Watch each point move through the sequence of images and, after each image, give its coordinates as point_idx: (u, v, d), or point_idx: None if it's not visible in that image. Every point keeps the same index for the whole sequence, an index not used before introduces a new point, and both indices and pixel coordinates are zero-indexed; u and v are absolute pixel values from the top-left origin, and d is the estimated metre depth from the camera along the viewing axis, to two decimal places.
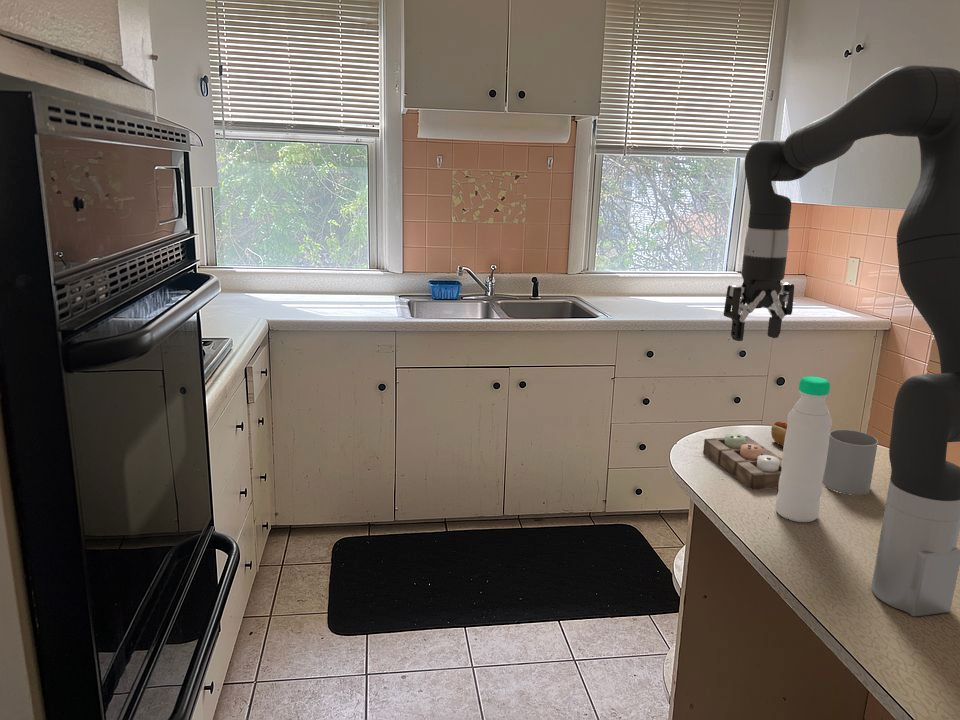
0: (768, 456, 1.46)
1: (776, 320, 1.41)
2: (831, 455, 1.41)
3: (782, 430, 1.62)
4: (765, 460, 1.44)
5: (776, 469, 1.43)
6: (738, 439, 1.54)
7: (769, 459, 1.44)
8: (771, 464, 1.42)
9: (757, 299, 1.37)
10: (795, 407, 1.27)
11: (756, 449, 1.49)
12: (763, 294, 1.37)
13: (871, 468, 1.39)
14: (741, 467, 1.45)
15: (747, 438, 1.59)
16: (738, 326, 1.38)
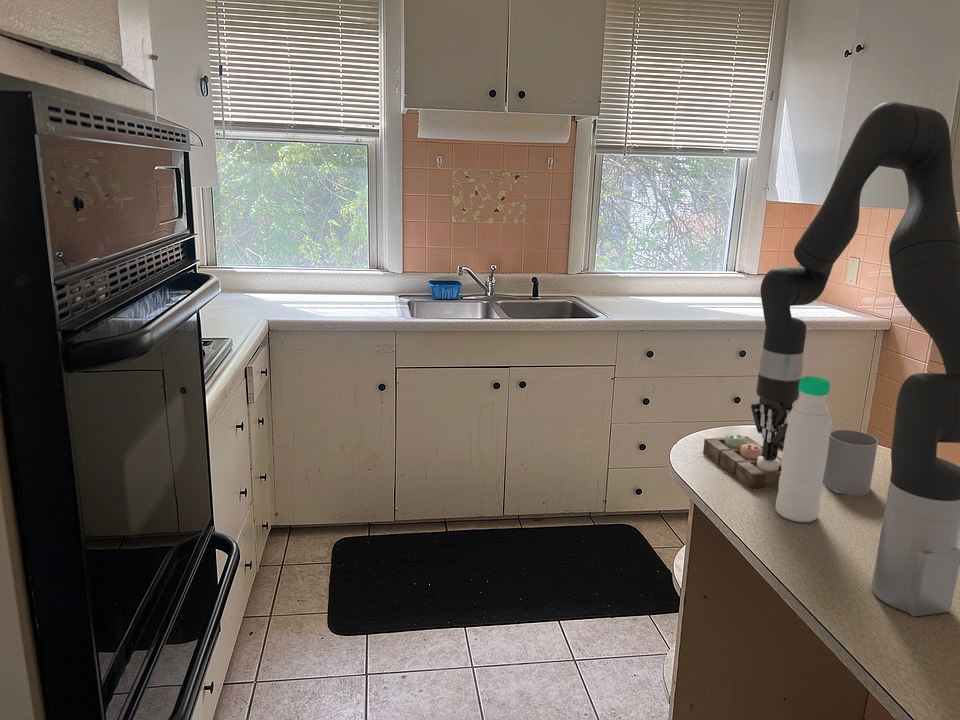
0: None
1: None
2: (831, 454, 1.41)
3: None
4: (765, 461, 1.44)
5: (776, 470, 1.43)
6: (738, 439, 1.54)
7: (769, 460, 1.44)
8: (771, 465, 1.42)
9: None
10: (795, 407, 1.27)
11: (756, 449, 1.49)
12: None
13: (871, 468, 1.39)
14: (741, 467, 1.45)
15: (747, 438, 1.59)
16: None
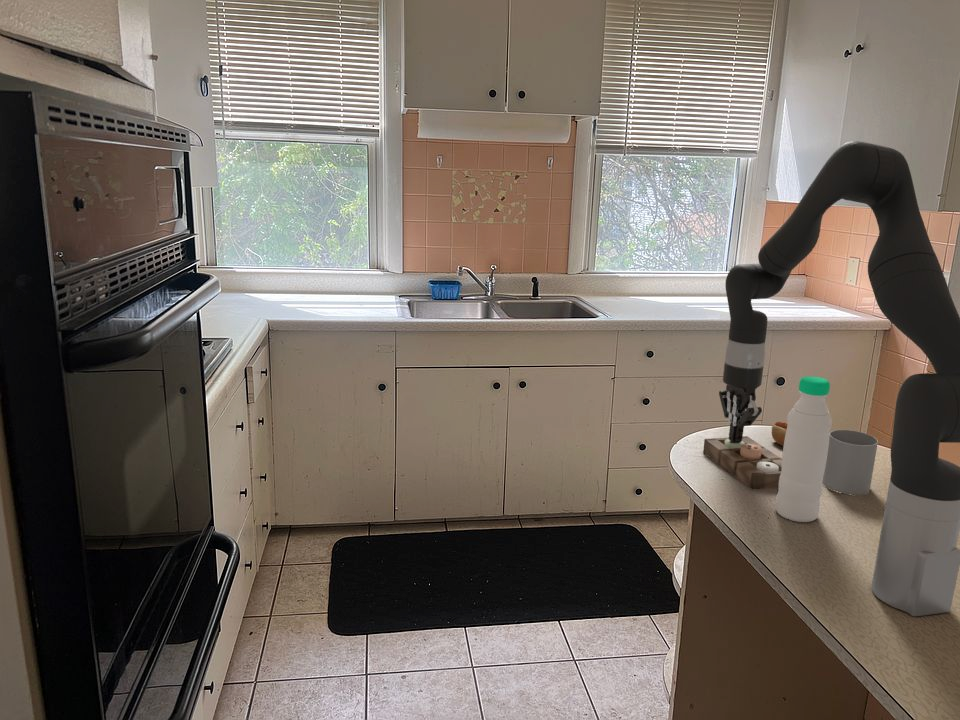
0: (767, 463, 1.46)
1: None
2: (831, 454, 1.41)
3: (782, 430, 1.62)
4: (765, 467, 1.44)
5: None
6: (737, 444, 1.55)
7: (768, 466, 1.44)
8: (770, 471, 1.43)
9: None
10: (795, 407, 1.27)
11: (756, 449, 1.49)
12: None
13: (871, 468, 1.39)
14: (741, 467, 1.45)
15: (747, 438, 1.59)
16: None
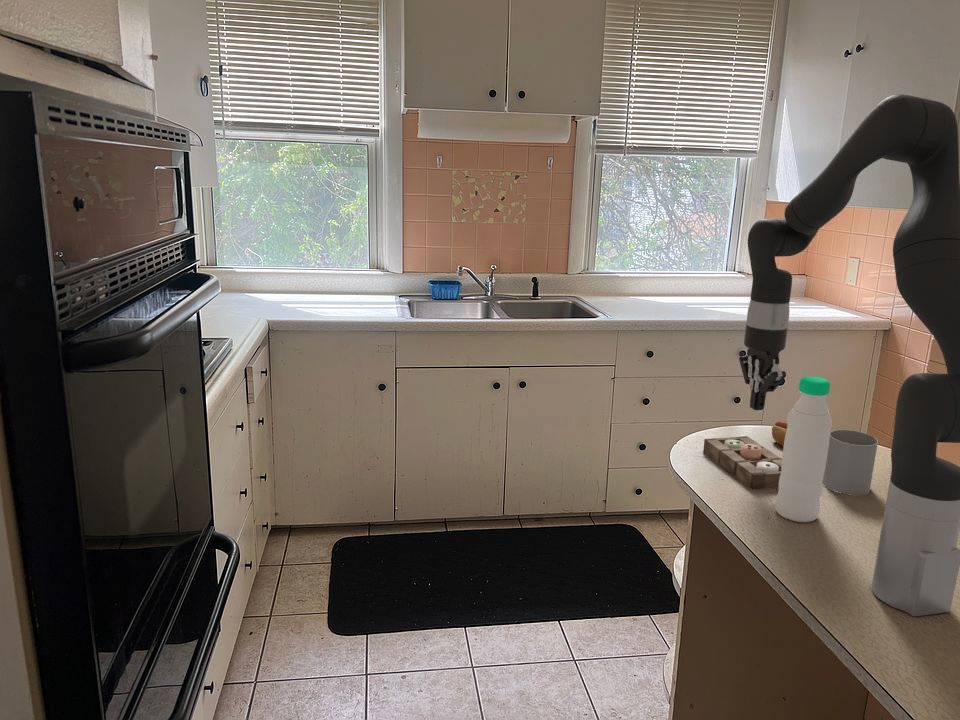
0: (767, 463, 1.46)
1: None
2: (831, 454, 1.41)
3: (783, 430, 1.62)
4: (765, 467, 1.44)
5: None
6: (737, 445, 1.55)
7: (768, 466, 1.44)
8: (770, 471, 1.43)
9: None
10: (795, 407, 1.27)
11: (756, 449, 1.49)
12: None
13: (871, 468, 1.39)
14: (741, 467, 1.45)
15: (747, 438, 1.59)
16: None
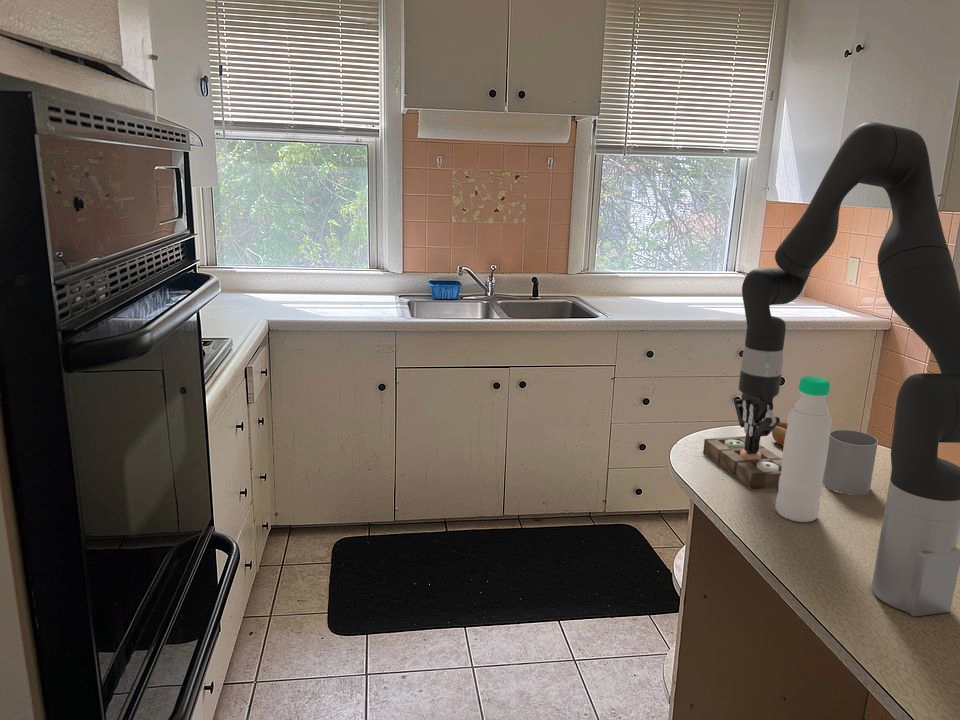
0: (767, 463, 1.46)
1: None
2: (831, 454, 1.41)
3: (783, 430, 1.62)
4: (765, 467, 1.44)
5: None
6: (737, 445, 1.55)
7: (768, 466, 1.44)
8: (770, 471, 1.43)
9: None
10: (795, 407, 1.27)
11: (755, 454, 1.49)
12: None
13: (871, 468, 1.39)
14: (741, 467, 1.45)
15: None
16: None
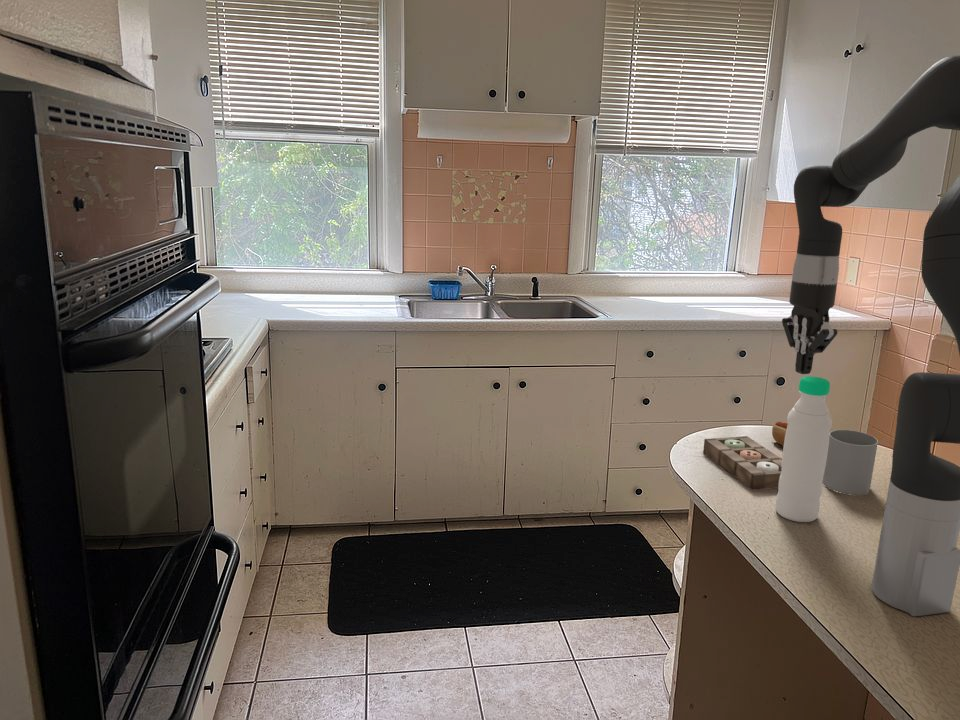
0: (767, 463, 1.46)
1: None
2: (831, 454, 1.41)
3: (783, 430, 1.62)
4: (765, 467, 1.44)
5: None
6: (737, 445, 1.55)
7: (768, 466, 1.44)
8: (770, 471, 1.43)
9: None
10: (795, 407, 1.27)
11: (755, 455, 1.49)
12: None
13: (871, 468, 1.39)
14: (741, 467, 1.45)
15: (747, 438, 1.59)
16: None
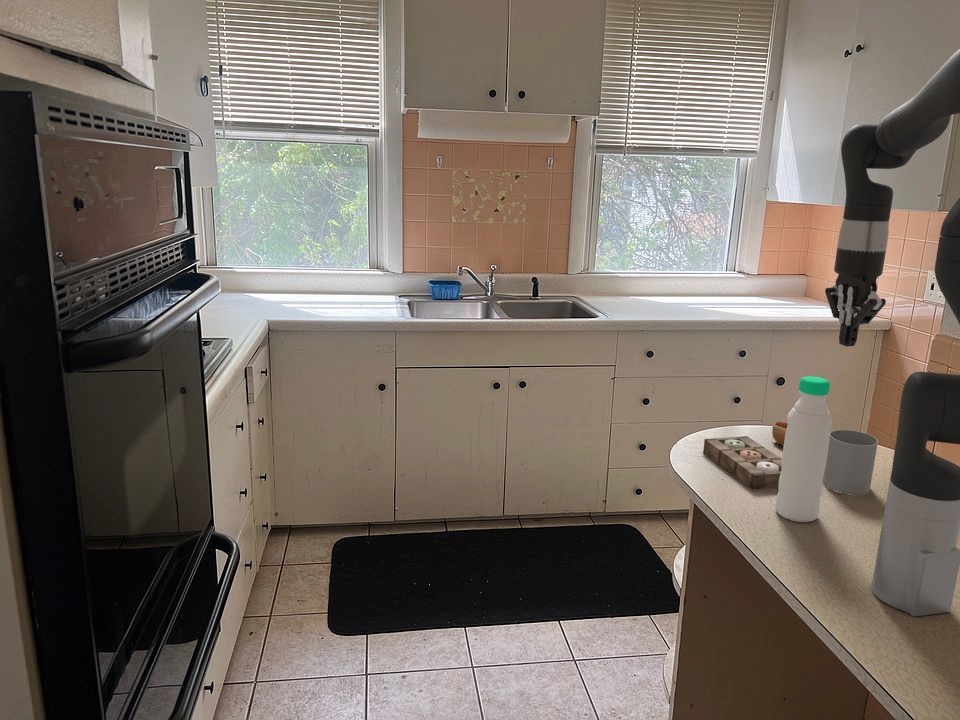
0: (767, 463, 1.46)
1: None
2: (831, 454, 1.41)
3: (783, 430, 1.62)
4: (765, 467, 1.44)
5: None
6: (737, 445, 1.55)
7: (768, 466, 1.44)
8: (770, 471, 1.43)
9: None
10: (795, 407, 1.27)
11: (755, 455, 1.49)
12: None
13: (871, 468, 1.39)
14: (741, 467, 1.45)
15: (747, 438, 1.59)
16: None
